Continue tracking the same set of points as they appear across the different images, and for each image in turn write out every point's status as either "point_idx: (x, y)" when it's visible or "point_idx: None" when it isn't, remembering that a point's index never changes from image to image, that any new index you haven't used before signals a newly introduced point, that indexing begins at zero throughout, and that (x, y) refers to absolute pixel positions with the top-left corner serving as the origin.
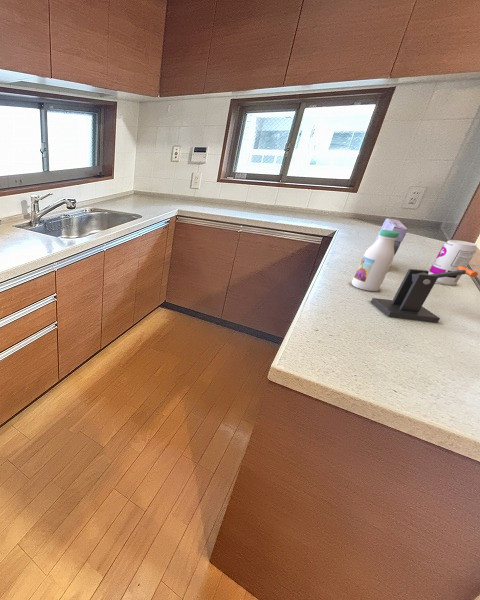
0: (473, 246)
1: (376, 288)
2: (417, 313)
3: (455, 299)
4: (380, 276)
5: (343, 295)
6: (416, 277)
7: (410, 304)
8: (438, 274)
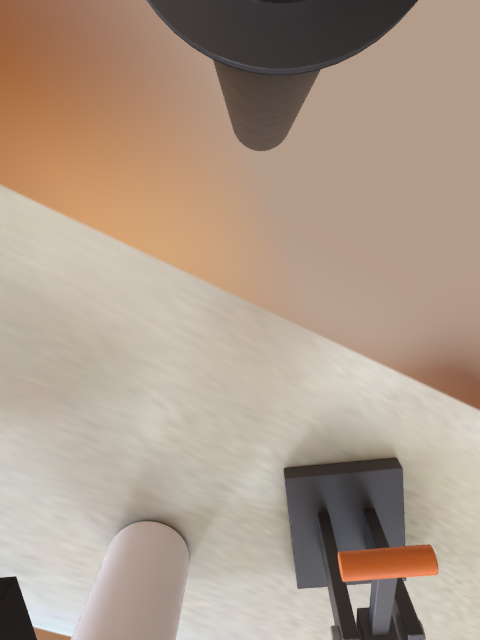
0: None
1: (181, 544)
2: (386, 515)
3: (117, 294)
4: (177, 592)
5: (272, 628)
6: None
7: None
8: (387, 620)
